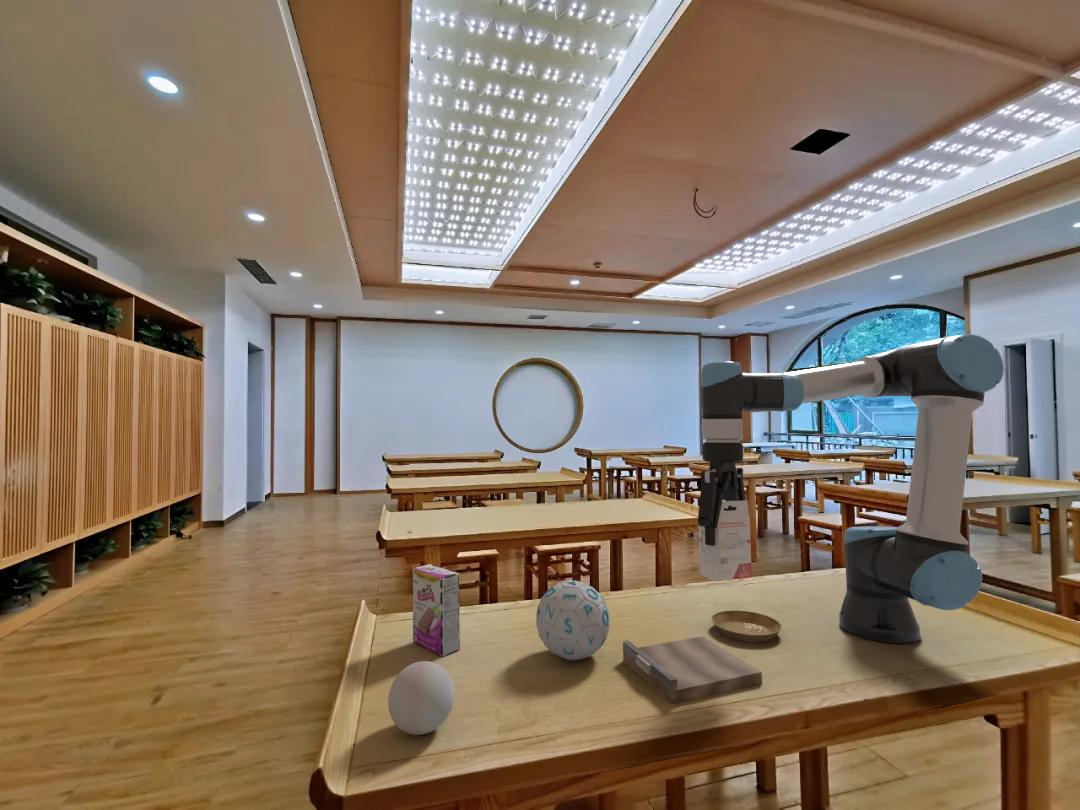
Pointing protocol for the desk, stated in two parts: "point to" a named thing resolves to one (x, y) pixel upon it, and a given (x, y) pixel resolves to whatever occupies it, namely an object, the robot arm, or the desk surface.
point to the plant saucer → (734, 619)
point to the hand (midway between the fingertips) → (724, 557)
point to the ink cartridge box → (729, 544)
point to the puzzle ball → (572, 620)
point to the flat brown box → (690, 668)
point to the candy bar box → (436, 609)
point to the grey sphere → (421, 698)
